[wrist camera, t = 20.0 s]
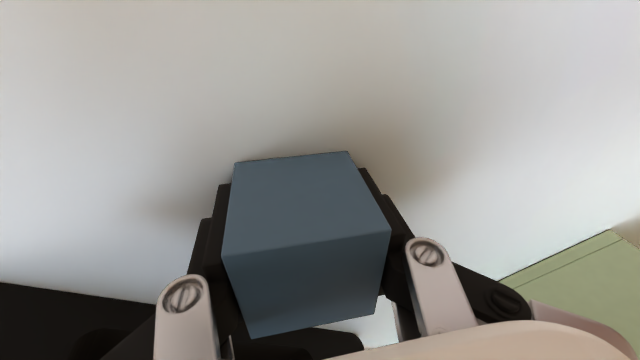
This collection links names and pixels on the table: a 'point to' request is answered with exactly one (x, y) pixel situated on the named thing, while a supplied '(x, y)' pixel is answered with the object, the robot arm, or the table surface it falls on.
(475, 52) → the table surface
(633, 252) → the chest
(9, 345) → the device stand
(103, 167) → the table surface
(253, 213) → the block
